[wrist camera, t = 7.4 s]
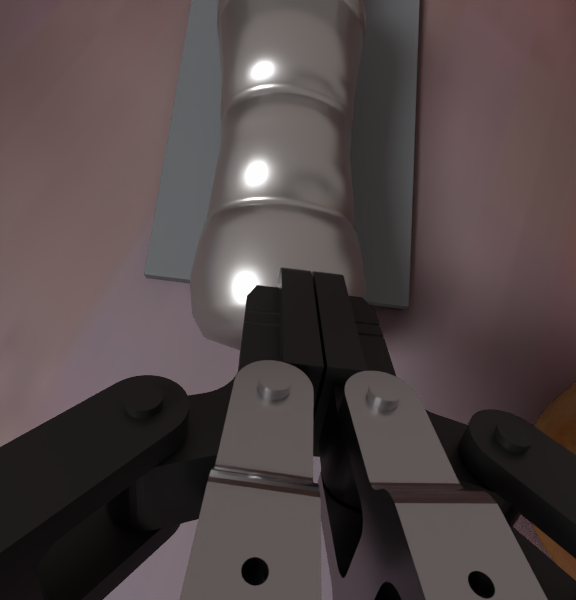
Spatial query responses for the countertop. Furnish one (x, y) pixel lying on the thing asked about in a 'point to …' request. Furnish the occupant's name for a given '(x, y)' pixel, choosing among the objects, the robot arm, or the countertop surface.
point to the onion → (572, 435)
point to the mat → (364, 152)
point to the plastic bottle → (280, 155)
